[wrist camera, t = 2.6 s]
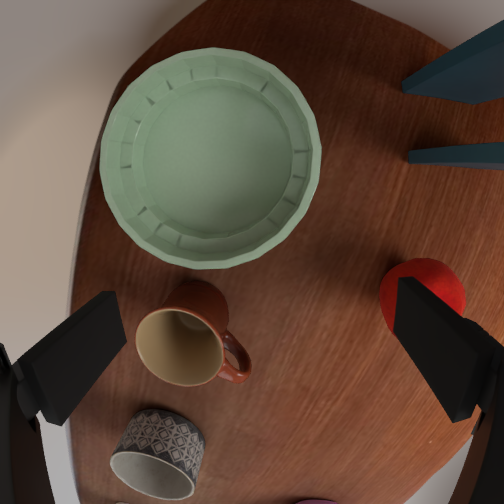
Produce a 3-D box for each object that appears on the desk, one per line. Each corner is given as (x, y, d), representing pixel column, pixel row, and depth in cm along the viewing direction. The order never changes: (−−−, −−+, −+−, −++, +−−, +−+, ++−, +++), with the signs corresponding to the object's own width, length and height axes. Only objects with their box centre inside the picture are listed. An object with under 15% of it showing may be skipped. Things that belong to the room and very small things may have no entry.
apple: (406, 230, 34) (453, 253, 23) (440, 281, 35) (485, 315, 24) (351, 280, 35) (380, 320, 25) (389, 326, 37) (422, 373, 26)
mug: (154, 312, 38) (121, 354, 28) (187, 257, 36) (157, 288, 26) (234, 361, 39) (223, 414, 29) (273, 312, 37) (273, 360, 27)
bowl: (126, 86, 31) (97, 72, 25) (304, 65, 30) (311, 41, 23) (138, 254, 36) (111, 272, 29) (314, 246, 35) (325, 264, 28)
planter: (184, 463, 46) (171, 507, 35) (122, 428, 44) (100, 469, 34) (221, 432, 43) (211, 483, 33) (150, 391, 41) (126, 439, 31)
